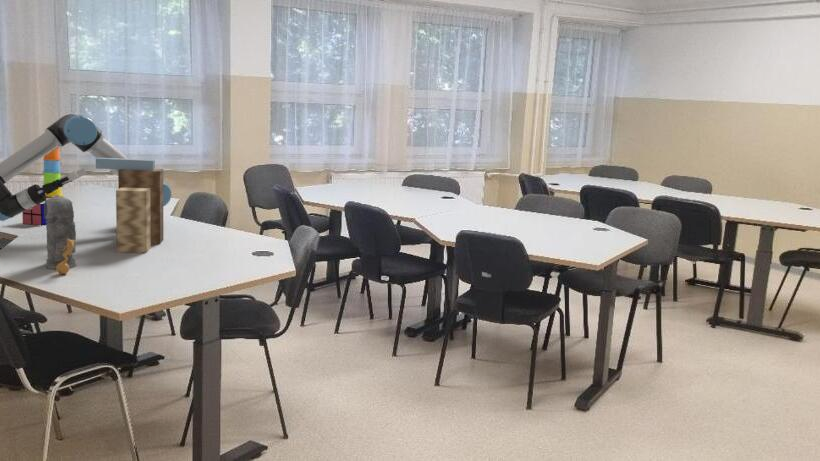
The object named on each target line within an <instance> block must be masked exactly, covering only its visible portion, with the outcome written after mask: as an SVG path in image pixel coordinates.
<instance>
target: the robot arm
mask: <svg viewBox="0 0 820 461" xmlns="http://www.w3.org/2000/svg"><path fill="white" fill-rule="evenodd" d="M70 143H71V144H73V145H74V146H75V147H76V148H77V149H79V150H80V151H81V152H83V153H89V154H91V155H92V156H93V157H94V158H95V159H96V158H118V159H129V157H127V156H126V154H123V152H121V151H120V150H119V149H118V148H117V147H115V145H113V144H112V143H111V142H110V141H108V140H107V139H106V138H105V137H104V131H102V130H101V129H100V128H99V127H98V126H97V125H96V124H95V122H94V121H93V120H92V119H90V118H89V117H88V116H85V115H83V114H82V115H80V114H79V115H77V114H66V115H64V116H61V117H60V118H59V119H57V120H56V121H55V122H53V123H52V124H50V125H49V126H48V127H46V128H45V129H44V133H42V134H41V135H39V136H38V137H36V138H34V139H33V140H32V141H30V142H29V143H28V144H26V145H25V146H23V147H21V148H20V149H19V150H17V151H16V152H14V153H13V154H11V155H10V156H7V157H6V158H5V159H4V160H2V161H1V162H0V221H1V222H4V221H7V220H8V219H9V220H10V219H12V218H14V217H17V216H18V215H19V214H23V213H22V212H23V211H26V210H28V209H29V208H30V210H31V209H32V207H33V206H35V205H37V204H40V203H42V202H44V201H45V200H47V197H46V195H45V193H47V194H50V193H52V192H53V191H55V190H57V189H58V188H59V187H60V188H61V189H62V187H64V186H65V185H67V184H69V183H71V182H73V181H75V180H77V179H79V178H81V177H83V176H85V175H87V174H88V172H87V171H86V170H85V168H84V167H82V168H80V169H78V170H75V171H71V172H70V173H67V174H66V175H64V176H60V177H61V178H59V179H57V180H56V181H53V182H51V183H47V184H45V185H44V184H42V185H41V186H40V185H39V184H36V183H35V184H32V185H31V186H29V187H27V188H24V189H23V190H20V191H18V192H17V193H15V194H13V193H12V192H11V191H10V190H9V189H8V187H7V186H6V185H5V184H6V183H8V182H9V181H10V180H11V179H13V178H14V177H16V176H17V175H19V174H20V173H22V172H24V171H25V170H27V169H28V168H29V167H31V166H32V165H33V164H35V163H36V162H38V161H39V160H41V159H43V158H44V156H45V155H47V154H48V153H50V152H51V151H52V150H54V149H55V148H57V147H59V148H63V147H64V146H66V145H67V144H70ZM109 170H111V172H112V173H114V175H116V176H118V170H119V169H109ZM171 198H172V190H171V188H170V186H169V185H168V184H167V183H165V182H164V181H163V208H164V207H166V206H167V205H168V204H169V202H170V201H171Z"/></svg>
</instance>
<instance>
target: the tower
mask: <svg viewBox="0 0 820 461" xmlns="http://www.w3.org/2000/svg"><path fill="white" fill-rule="evenodd" d="M117 180H118V186H117V187H118V189H119V188H150V225H151V245H161V244H162V242H163V241H164V239H165V238H164V207H163V182H164V169H162V168H155V170H153V171H150V170H123V169H119V170H118V178H117ZM118 189H117V190H118Z"/></svg>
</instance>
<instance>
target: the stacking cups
mask: <svg viewBox="0 0 820 461" xmlns="http://www.w3.org/2000/svg"><path fill="white" fill-rule="evenodd" d="M59 150H60V147H57V148H55V149H54V150H52V151H51V152H50V153H48V154H47V155H45V156H44V157H43V158H42V160H43V171H42V172H43V182H42V185H45V184H47V183H51V182H53V181H56V180H57V179H59V178H61V177H62V176H61V173H62V171H61V165H60V163H61V162H60V160H61V158H60V151H59ZM45 195H46V198H51V197H55V196H56V195H60V196H61V197H64V195H63V193H62V187H61V188H60V187H59V188H58V189H57V190H55V191H53V192H52V193H50V194H47V193H45Z"/></svg>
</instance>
